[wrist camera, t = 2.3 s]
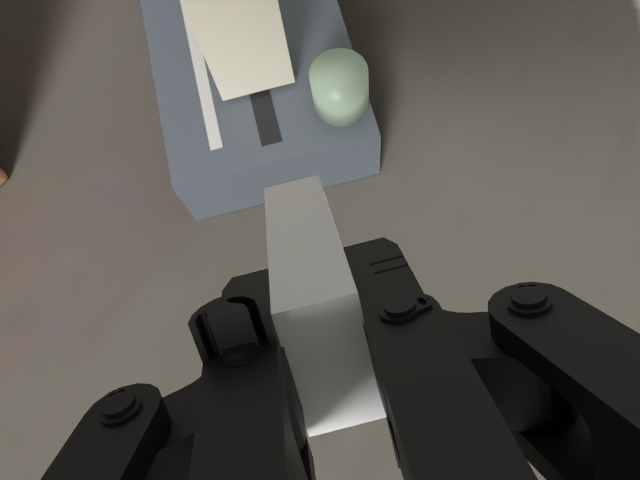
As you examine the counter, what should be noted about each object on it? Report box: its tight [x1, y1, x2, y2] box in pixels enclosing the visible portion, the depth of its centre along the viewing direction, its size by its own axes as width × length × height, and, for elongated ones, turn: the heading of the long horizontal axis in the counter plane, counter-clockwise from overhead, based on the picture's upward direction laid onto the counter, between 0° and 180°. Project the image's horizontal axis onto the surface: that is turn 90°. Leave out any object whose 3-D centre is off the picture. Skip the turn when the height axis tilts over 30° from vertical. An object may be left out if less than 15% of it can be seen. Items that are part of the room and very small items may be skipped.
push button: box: [309, 48, 369, 127], centre depth 27 cm, size 3×3×2 cm
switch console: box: [140, 0, 381, 221], centre depth 33 cm, size 18×10×5 cm, turn 14°
